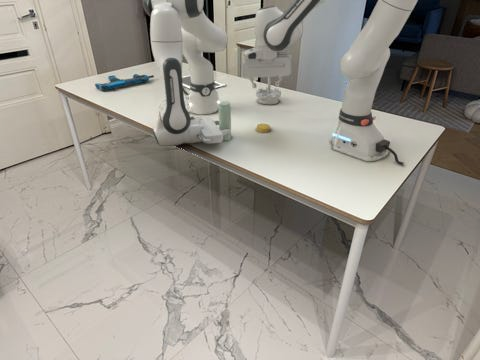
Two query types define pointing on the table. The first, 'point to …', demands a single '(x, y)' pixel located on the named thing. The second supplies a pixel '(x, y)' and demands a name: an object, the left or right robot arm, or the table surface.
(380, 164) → the table surface
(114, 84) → the submachine gun
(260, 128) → the lid
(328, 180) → the table surface
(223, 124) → the pale green cylinder
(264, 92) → the flag stand
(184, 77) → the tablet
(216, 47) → the left robot arm
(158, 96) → the table surface
